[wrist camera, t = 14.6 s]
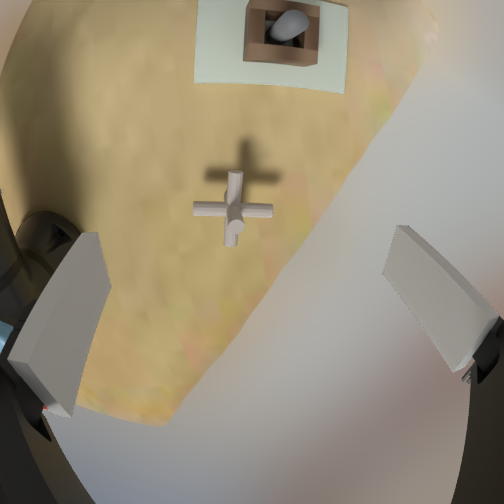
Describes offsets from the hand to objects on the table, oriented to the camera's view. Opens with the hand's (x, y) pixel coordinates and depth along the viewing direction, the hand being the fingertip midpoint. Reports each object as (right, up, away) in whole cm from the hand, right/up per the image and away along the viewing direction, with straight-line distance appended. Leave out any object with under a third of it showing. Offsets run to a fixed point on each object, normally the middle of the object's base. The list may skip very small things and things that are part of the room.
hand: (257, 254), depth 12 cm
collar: (+3, +27, +16) cm, 32 cm away
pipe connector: (-3, +8, +29) cm, 30 cm away
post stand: (+3, +28, +17) cm, 33 cm away
